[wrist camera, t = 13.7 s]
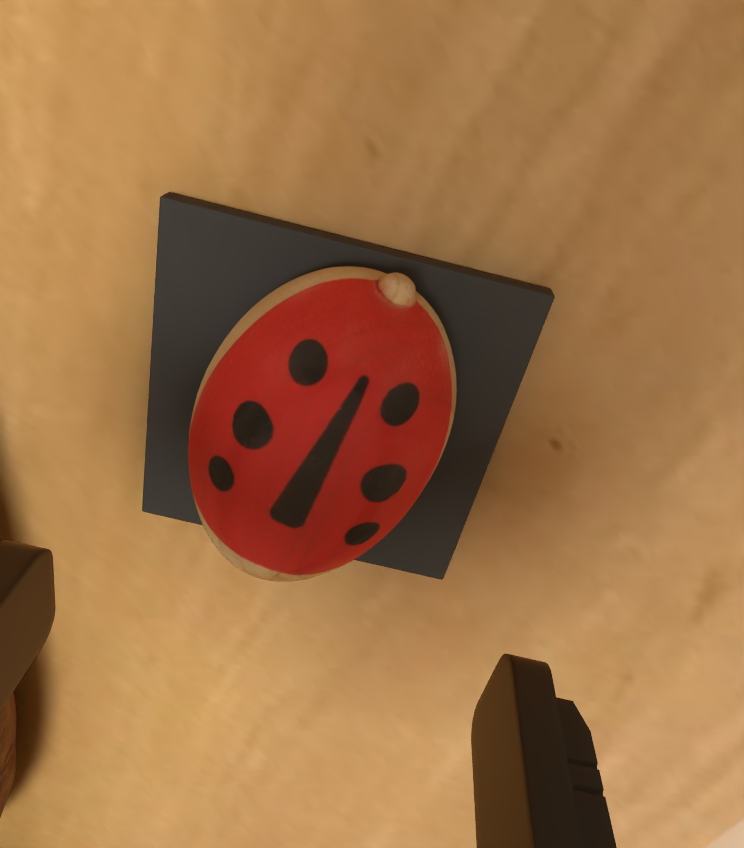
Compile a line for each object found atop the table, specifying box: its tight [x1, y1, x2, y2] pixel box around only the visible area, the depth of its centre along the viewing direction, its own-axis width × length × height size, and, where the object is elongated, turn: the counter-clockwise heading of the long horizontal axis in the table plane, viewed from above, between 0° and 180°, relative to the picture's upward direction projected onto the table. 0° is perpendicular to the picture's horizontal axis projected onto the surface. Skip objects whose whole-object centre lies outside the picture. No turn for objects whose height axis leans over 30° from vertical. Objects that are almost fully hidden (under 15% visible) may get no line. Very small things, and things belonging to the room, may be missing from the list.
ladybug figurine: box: [188, 266, 457, 582], centre depth 17 cm, size 7×10×4 cm
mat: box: [142, 192, 554, 580], centre depth 19 cm, size 10×10×1 cm
